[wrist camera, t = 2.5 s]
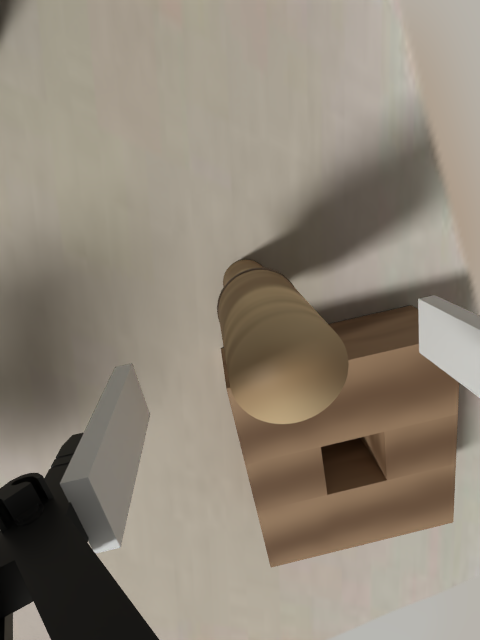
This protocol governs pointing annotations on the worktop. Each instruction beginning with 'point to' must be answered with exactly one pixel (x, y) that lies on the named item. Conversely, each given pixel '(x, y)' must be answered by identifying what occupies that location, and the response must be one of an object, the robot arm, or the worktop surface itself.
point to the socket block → (358, 448)
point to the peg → (277, 347)
